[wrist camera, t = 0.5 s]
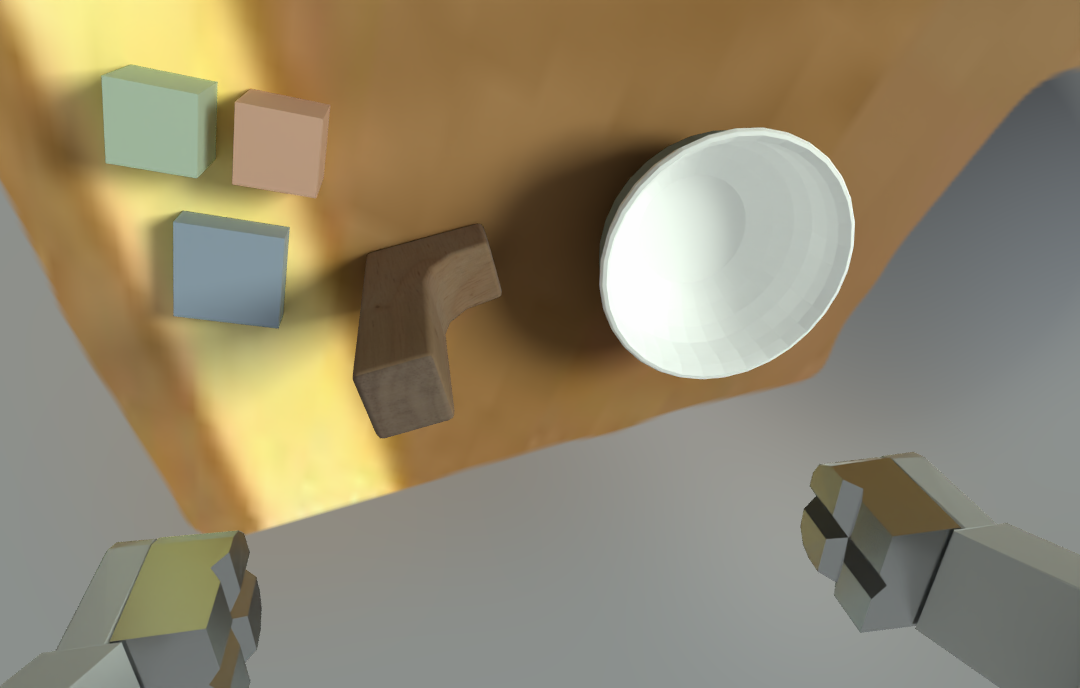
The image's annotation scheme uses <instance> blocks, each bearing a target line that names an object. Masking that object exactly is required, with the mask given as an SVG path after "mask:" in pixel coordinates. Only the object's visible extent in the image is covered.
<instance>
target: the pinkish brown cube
mask: <svg viewBox="0 0 1080 688" xmlns="http://www.w3.org/2000/svg"><path fill="white" fill-rule="evenodd" d="M329 114H330V105H329V104H324V103H319V102H314V101H309V100H304V99H299V98H294V97H289V96H284V95H279V94H274V93H269V92H264V91H260V90H255V89H250V90H248V91H247V92H246V93H245V94H244V95H242V96H241V97H240V98H239V99H238V100H236V101H235V115H234V145H233V175H232V184H234V185H240V186H246V187H252V188H258V189H263V190H269V191H275V192H281V193H287V194H293V195H299V196H305V197H311V198H316V197H317V195H318V192H319V189H320V186H321V184H322V181H323V178H324V168H325V157H326V147H327V136H328V125H329Z"/></svg>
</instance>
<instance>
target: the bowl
mask: <svg viewBox="0 0 1080 688" xmlns="http://www.w3.org/2000/svg"><path fill="white" fill-rule="evenodd" d="M854 227H855V221H854V215H853V209H852V202H851V197H850V195H849V192H848V190H847V187H846V185H845V182H844V180H843V177H842V176H841V174H840V173H839V171H838V170H837V169H836V167H835V166H834V165H833V163H832V162H831V161H830V159H829V158H828V157H827V156H826V155H825V154H823V153H822V152H821V151H820V150H818V149H817V148H816V147H815V146H813V145H812V144H811V143H810V142H807V141H805V140H803V139H801V138H799V137H797V136H794V135H792V134H790V133H788V132H783V131H778V130H772V129H767V128H736V129H731V130H723V131H711V132H707V133H702V134H698V135H694V136H690V137H688V138H686V139H684V140H681V141H679V142H677V143H675V144H673V145H670V146H668V147H667V148H665V149H664V150H662V151H661V152H660V153H658V154H657V155H655V156H654V157H652V158H651V159H650V160H648V161H647V162H646V163H645V164H644V165H643V166H642V167H641V168H640V169H639V170H638V171H637V172H636V173H635V174H634V175H633V176H632V177H631V178H630V179H629V180H628V182H627V183H626V185H625V186H624V187H623V189H622V190H621V192H620V193H619V195H618V196H617V197H616V199H615V201H614V203H613V205H612V208H611V210H610V212H609V214H608V216H607V218H606V221H605V225H604V229H603V232H602V236H601V240H600V251H599V269H600V282H599V286H600V293H601V299H602V305H603V310H604V312H605V315H606V317H607V319H608V322H609V324H610V327H611V329H612V331H613V332H614V334H615V335H616V336H617V338H618V339H619V341H620V342H621V344H622V345H623V346H624V347H625V348H626V349H627V350H628V351H629V352H630V353H631V354H633V355H634V356H635V357H636V358H637V359H638V360H639V361H641V362H643V363H645V364H646V365H648V366H650V367H652V368H654V369H656V370H657V371H660V372H664V373H667V374H670V375H674V376H677V377H684V378H695V379H710V378H721V377H727V376H731V375H735V374H739V373H742V372H746V371H749V370H751V369H754V368H756V367H758V366H760V365H763V364H765V363H767V362H769V361H771V360H773V359H774V358H776V357H777V356H779V355H780V354H782V353H784V352H785V351H787V350H788V349H790V348H791V347H792V346H793V345H795V344H796V343H797V342H798V341H799V340H800V339H802V338H803V337H804V336H805V335H806V334H807V333H809V331H810V330H811V329H812V328H813V327H814V326H815V325H816V323H817V322H818V321H819V320H820V319H821V318H822V316H823V315H824V314H825V313H826V311H827V310H828V308H829V306H830V305H831V303H832V302H833V300H834V299H835V297H836V295H837V294H838V292H839V290H840V287H841V285H842V283H843V280H844V278H845V276H846V273H847V271H848V268H849V264H850V259H851V255H852V251H853V247H854Z"/></svg>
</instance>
